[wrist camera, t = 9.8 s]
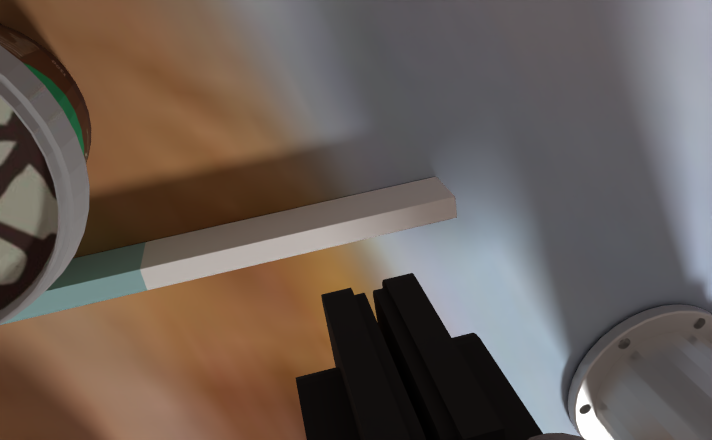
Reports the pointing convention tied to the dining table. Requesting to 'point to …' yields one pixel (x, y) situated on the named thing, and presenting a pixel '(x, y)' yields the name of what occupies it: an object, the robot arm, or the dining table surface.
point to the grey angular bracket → (244, 244)
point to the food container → (38, 170)
